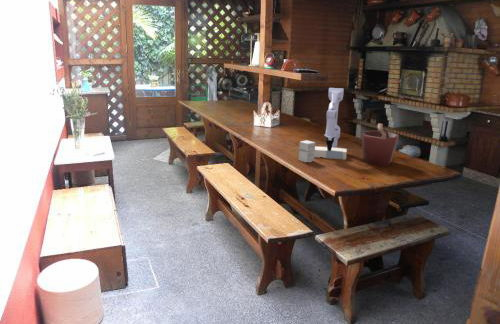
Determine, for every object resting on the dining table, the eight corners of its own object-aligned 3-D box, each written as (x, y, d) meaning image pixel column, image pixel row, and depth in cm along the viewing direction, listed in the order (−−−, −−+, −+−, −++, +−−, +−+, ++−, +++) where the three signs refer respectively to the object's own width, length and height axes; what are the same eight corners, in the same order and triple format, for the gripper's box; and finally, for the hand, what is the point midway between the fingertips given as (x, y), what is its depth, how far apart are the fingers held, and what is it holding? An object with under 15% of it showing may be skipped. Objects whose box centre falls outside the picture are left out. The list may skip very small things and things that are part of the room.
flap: (326, 157, 272) (327, 144, 269) (342, 158, 270) (343, 145, 267) (326, 158, 269) (327, 144, 267) (342, 159, 267) (343, 146, 265)
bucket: (389, 169, 249) (394, 129, 242) (353, 164, 259) (357, 125, 252) (397, 160, 269) (401, 123, 262) (363, 155, 279) (367, 119, 273)
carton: (310, 153, 283) (310, 146, 282) (345, 155, 278) (346, 148, 277) (309, 156, 274) (309, 149, 272) (345, 159, 269) (346, 152, 267)
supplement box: (298, 160, 264) (299, 141, 260) (306, 158, 269) (307, 140, 265) (306, 163, 258) (307, 143, 255) (314, 161, 263) (315, 142, 260)
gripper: (325, 126, 272) (323, 145, 276) (324, 130, 259) (322, 150, 262) (335, 126, 271) (334, 146, 275) (335, 130, 257) (333, 151, 261)
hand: (329, 148), depth 268 cm, fingers open, 7 cm apart
